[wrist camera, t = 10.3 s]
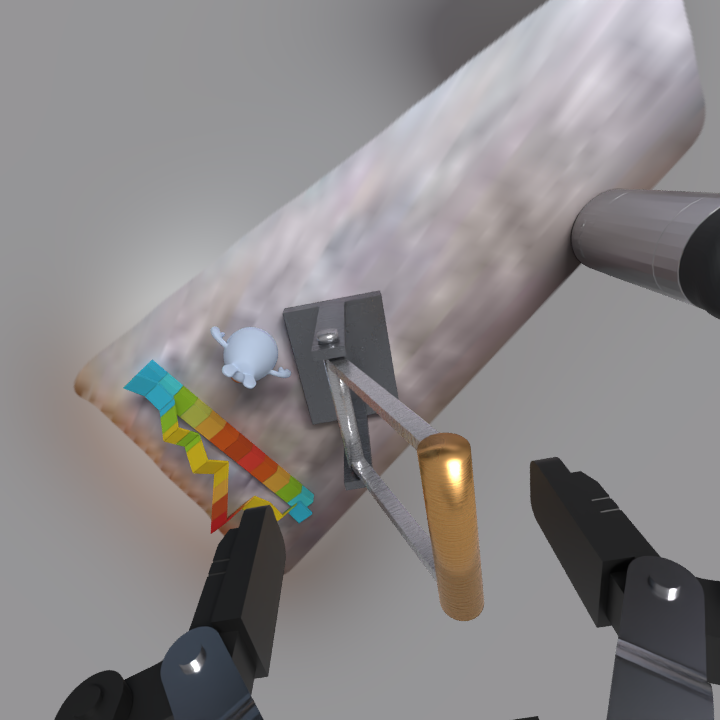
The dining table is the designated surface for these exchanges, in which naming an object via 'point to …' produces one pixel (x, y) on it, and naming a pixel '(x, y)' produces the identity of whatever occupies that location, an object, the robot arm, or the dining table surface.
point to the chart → (225, 438)
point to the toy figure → (249, 355)
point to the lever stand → (336, 339)
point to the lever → (440, 488)
